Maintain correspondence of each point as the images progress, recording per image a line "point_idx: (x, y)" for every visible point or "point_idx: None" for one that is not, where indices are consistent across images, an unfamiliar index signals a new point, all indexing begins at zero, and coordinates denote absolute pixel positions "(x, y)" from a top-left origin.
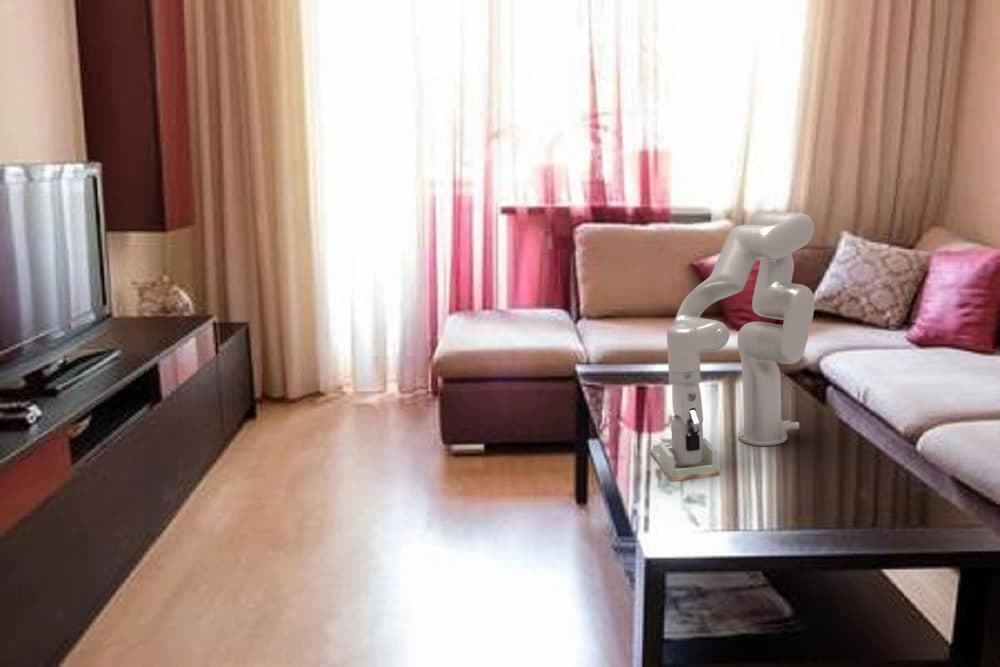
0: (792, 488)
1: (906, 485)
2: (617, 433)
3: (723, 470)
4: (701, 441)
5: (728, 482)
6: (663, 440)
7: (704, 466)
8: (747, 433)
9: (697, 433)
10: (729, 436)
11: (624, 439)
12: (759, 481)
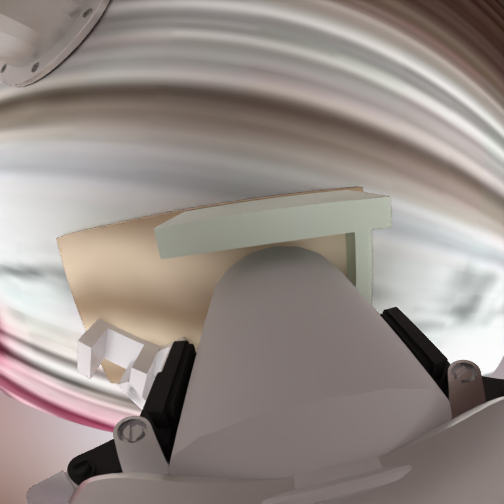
0: (449, 33)
1: None
2: (24, 390)
3: (308, 157)
4: (367, 304)
5: (414, 173)
6: (92, 369)
7: (365, 254)
8: (39, 46)
9: (485, 378)
10: (11, 113)
11: (45, 392)
12: (414, 77)
